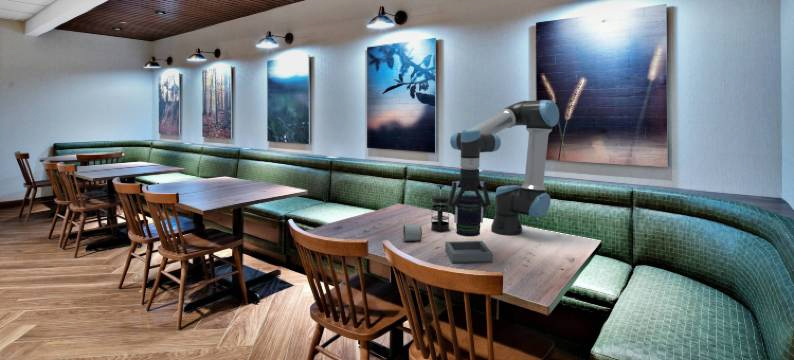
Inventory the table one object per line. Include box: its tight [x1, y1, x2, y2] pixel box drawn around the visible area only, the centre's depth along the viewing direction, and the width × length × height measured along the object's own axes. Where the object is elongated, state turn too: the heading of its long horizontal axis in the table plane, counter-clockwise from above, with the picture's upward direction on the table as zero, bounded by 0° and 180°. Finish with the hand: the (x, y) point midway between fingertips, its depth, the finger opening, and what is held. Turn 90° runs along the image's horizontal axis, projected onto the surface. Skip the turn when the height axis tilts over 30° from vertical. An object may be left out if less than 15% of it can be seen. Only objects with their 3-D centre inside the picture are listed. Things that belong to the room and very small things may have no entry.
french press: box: [430, 184, 450, 233], centre depth 211 cm, size 12×9×23 cm
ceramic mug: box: [402, 224, 423, 242], centre depth 196 cm, size 11×8×8 cm
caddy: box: [444, 240, 493, 264], centre depth 172 cm, size 16×16×4 cm
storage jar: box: [455, 194, 482, 238], centre depth 170 cm, size 10×10×15 cm
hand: (468, 222), depth 170 cm, fingers closed on storage jar, 10 cm apart
